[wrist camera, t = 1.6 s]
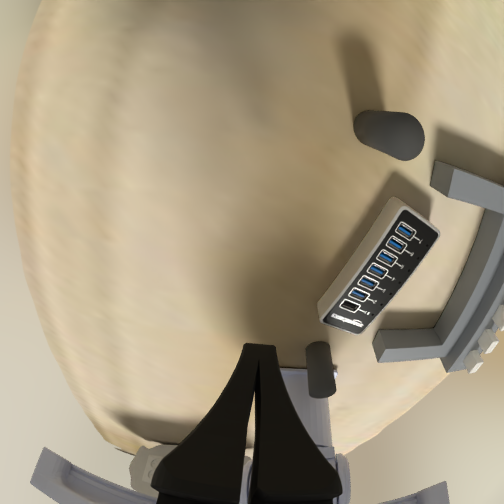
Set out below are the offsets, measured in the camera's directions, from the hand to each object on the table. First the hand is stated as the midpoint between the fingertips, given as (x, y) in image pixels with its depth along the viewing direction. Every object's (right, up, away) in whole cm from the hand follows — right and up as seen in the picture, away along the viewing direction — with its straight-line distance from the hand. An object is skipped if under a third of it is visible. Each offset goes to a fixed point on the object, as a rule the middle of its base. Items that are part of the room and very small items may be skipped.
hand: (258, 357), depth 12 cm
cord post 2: (+7, +13, +3) cm, 15 cm away
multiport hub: (+9, +4, +8) cm, 13 cm away
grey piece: (+19, +3, +7) cm, 20 cm away
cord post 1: (+6, -5, +13) cm, 15 cm away
